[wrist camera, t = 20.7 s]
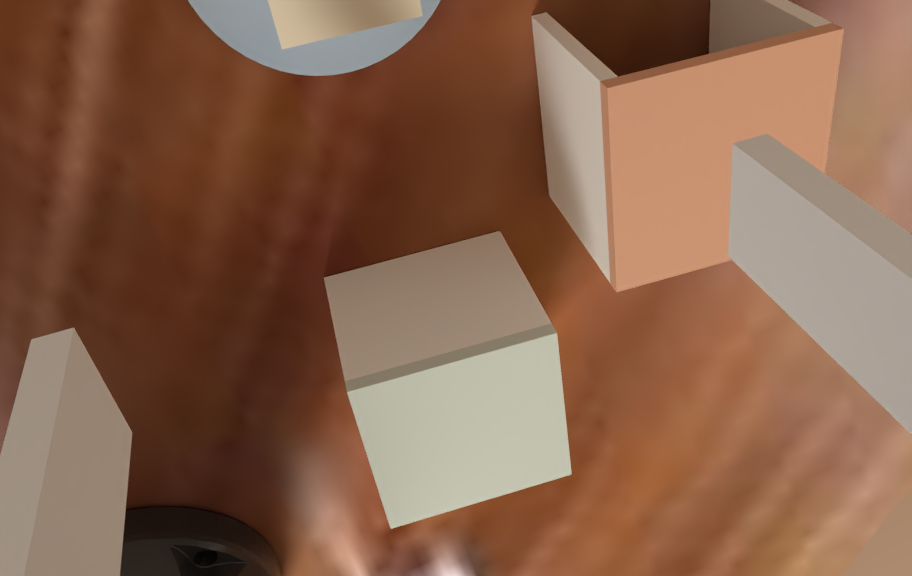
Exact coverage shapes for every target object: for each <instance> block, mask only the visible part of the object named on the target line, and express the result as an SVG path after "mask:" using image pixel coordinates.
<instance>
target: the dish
mask: <svg viewBox="0 0 912 576" xmlns="http://www.w3.org/2000/svg"><path fill="white" fill-rule="evenodd" d="M188 1H189V3H190V4H191V6H192V7H193V9H194V10H195V11H196V13H197V14H198V15H199V17H200V18H201V19H202V21H203V22H204V23H205V24H206V25H207V26H208V27H209V28H210V29H211V30H212V31H213V32H214V33H215V34H216V35H217V36H218V37H219V38H221V39H222V40H223V41H224V42H225V43H227V44H228V45H229V46H230V47H232V48H233V49H235V50H236V51H238V52H239V53H241V54H243V55H244V56H246V57H248V58H250V59H252V60H254V61H256V62H258V63H260V64H262V65H264V66H267V67H270V68H273V69H276V70H279V71H283V72H288V73H293V74H298V75H310V76H325V75H337V74H342V73H348V72H352V71H355V70H359V69H362V68H365V67H368V66H370V65H372V64H374V63H377V62H379V61H381V60H383V59H385V58H386V57H388V56H389V55H391V54H393V53H394V52H396V51H397V50H399V49H400V48H401V47H402V46H404V45H405V44H406V43H407V42H408V41H410V40H411V39H412V38H413V37H414V36H415V35H416V34H417V33H418V32H419V31H420V29H421V28H422V27H423V26H424V25H425V23H426V22H427V21H428V19H429V18H430V17H431V15H432V14H433V13H434V11H435V9H436V7H437V6H438V4H439V2H440V0H420V3H421V9H422V15H423V16H421V17H417V18H413V19H409V20H404V21H400V22H396V23H392V24H388V25H383V26H379V27H375V28H371V29H366V30H362V31H358V32H354V33H350V34H345V35H341V36H337V37H333V38H329V39H324V40H320V41H316V42H312V43H308V44H303V45H299V46H295V47H291V48H287V49H282V48H281V44H280V41H279V37H278V34H277V30H276V27H275V23H274V20H273V17H272V13H271V10H270V6H269V3H268V0H188Z"/></svg>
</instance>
